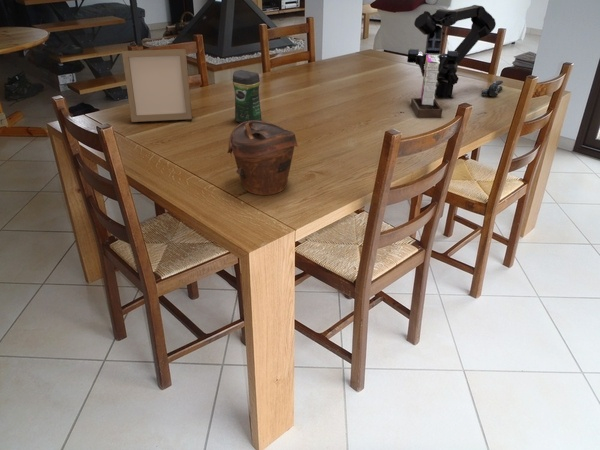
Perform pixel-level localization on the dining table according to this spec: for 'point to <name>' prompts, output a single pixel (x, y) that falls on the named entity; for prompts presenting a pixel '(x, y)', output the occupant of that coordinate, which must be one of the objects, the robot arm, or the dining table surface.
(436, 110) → the compartment
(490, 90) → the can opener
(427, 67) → the candy bar box
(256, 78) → the coffee jar
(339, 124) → the dining table surface
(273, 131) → the brown bucket
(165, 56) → the photo frame
